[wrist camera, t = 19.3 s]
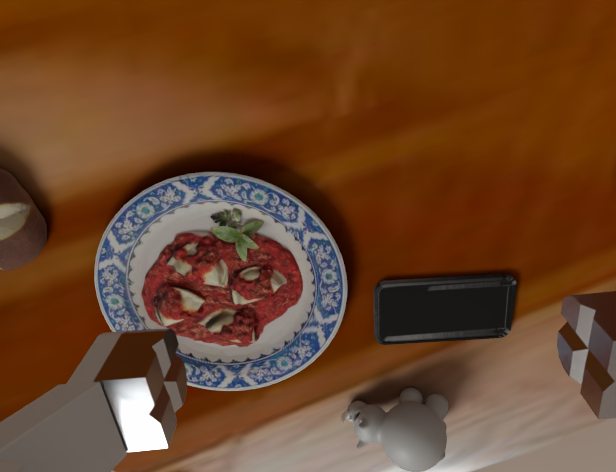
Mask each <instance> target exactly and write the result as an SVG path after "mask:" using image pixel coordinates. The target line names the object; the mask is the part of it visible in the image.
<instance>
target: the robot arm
mask: <svg viewBox="0 0 616 472" xmlns="http://www.w3.org/2000/svg"><path fill="white" fill-rule="evenodd" d="M561 314H562V315H563V317H564V318H565V319H566V320H567V323H566V324H565V325H564V326H563V327H562V328H561V329H560V330H559V331H558V341H557V347H558V353H559V358H560V361H561V363H562V366H563V368H564V369H565V371H566V372H567V374H568V376H569V377H571V378H572V379H574V380H576V381H578V382H580V383H581V384H582V386H581V395H582V396H583V398H584V399H585V400H586V402H587V403H588V405H589V406H590V408H591V409H592V411H593V412H594V413H595V415H596V416H597V418H598V419H606V418H616V291H612V292H602V293H592V294H581V295H571V296H566V297H565V299H564V301H563V303H562V309H561ZM178 345H179V343H178V340H177V337H176V333H175V331H173V330H172V329H171V328H167V329H150V330H134V331H126V332H125V331H119V332H108V333H103V334H100V335H99V336H98V337H97V338H96V340H95V341H94V343H93V344H92V346H91V347H90V349H89V350H88V352H87V354H86V355H85V357H84V358H83V360H82V361H81V363H80V364H79V366H78V367H77V369H76V370H75V372H74V373H73V375H72V376H71V378H70V379H69V381H68V382H67V384H63V385H58V386H56V387H55V388H53V389H52V390H50V391H49V392H47V393H45V394H44V395H42V396H41V397H39V398H38V399H36V400H35V401H33V402H31V403H30V404H28V405H27V406H25V407H24V408H22V409H21V410H19V411H17V412H16V413H14V414H13V415H11V416H10V417H8V418H7V419H5V420H4V421H2V422H0V472H111V471H112V470H113V468H114V467H115V466H116V465H117V464H118V463H119V462H120V461H121V460H122V459H123V458H124V457H125V456H126V455H127V453H126V452H133V451H143V450H154V449H164V448H169V445H170V442H171V439H172V436H173V433H174V430H175V427H176V424H177V419H176V416H175V412H176V411H177V410H178V409H179V408H180V407H181V406H182V405H183V403H184V399H185V396H186V389H187V375H186V368H185V364H184V361H183V360H182V359H181V358H179V357H178V356H177V355H176V354H175V353H176V350H177V348H178Z"/></svg>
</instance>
